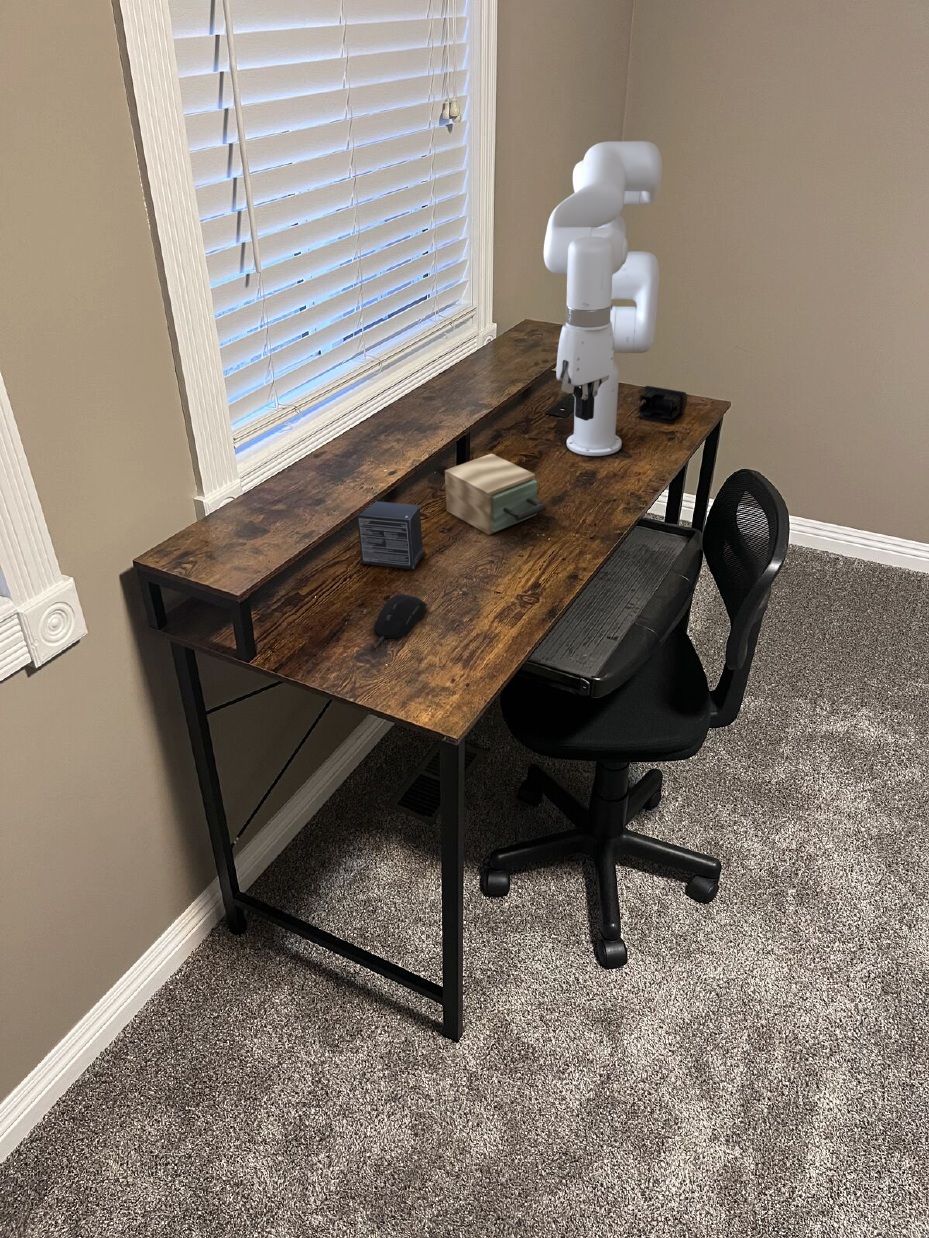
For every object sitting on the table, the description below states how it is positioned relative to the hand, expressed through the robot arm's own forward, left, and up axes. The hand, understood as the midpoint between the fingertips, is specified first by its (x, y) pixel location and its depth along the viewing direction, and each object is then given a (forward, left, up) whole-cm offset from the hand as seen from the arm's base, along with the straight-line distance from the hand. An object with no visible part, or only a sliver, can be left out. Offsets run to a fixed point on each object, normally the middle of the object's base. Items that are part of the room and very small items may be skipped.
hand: (584, 417), depth 168 cm
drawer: (+1, -15, -22) cm, 27 cm away
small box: (+22, -30, -23) cm, 44 cm away
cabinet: (-1, -19, -23) cm, 30 cm away
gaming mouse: (+42, -20, -23) cm, 52 cm away
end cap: (-62, +3, -23) cm, 66 cm away
